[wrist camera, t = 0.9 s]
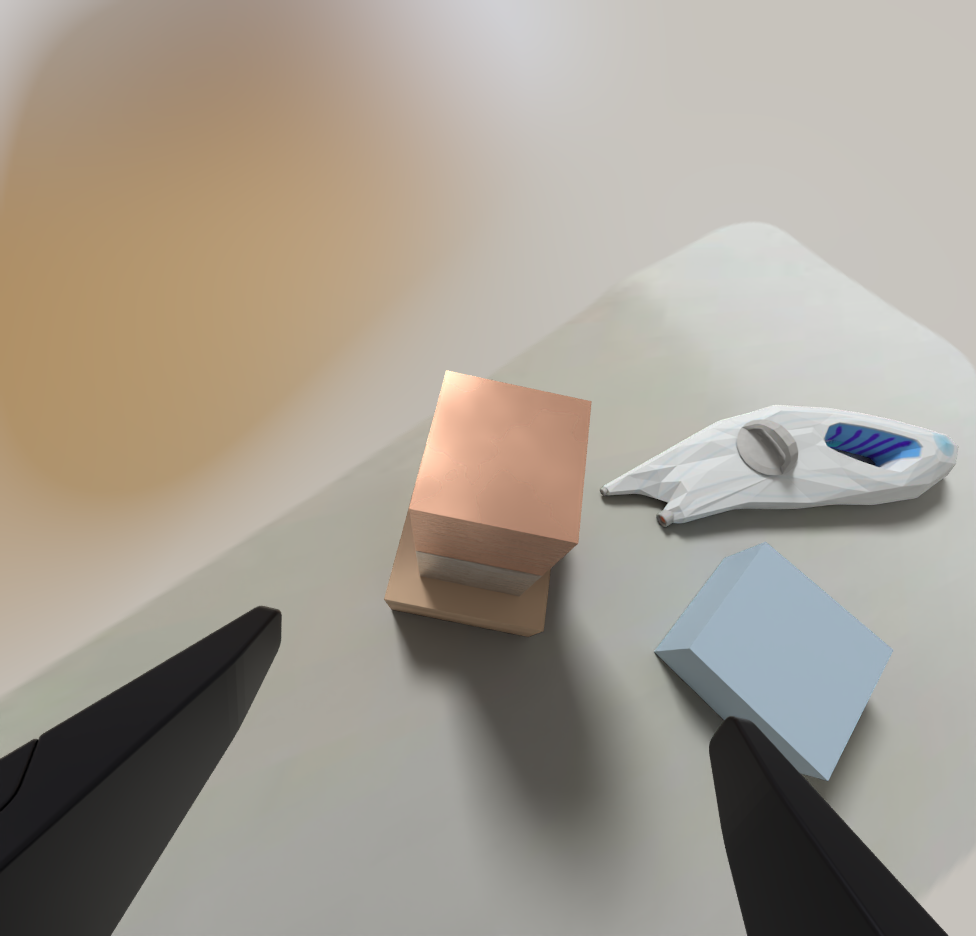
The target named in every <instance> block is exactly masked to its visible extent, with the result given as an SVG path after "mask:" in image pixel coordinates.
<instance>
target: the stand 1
mask: <svg viewBox="0 0 976 936" xmlns="http://www.w3.org/2000/svg"><path fill="white" fill-rule="evenodd" d="M422 459H423V457H422ZM421 462H422V461H421ZM420 466H421V465H420ZM419 470H420V468H419ZM418 473H419V472H418ZM417 477H418V476H417ZM416 481H417V479H416ZM415 484H416V483H415ZM414 488H415V487H414ZM413 492H414V491H413ZM412 496H413V494H412ZM411 499H412V498H411ZM410 503H411V502H410ZM409 507H410V505H409ZM550 572H551V568H550V569H549V570H548V571H547V572H546V573H545V574H544V575H543V576H541V577H540V578H539V579H538V580H537V581H536V582H535V583H534V584H533V585H531V586H530V587H529V588H528V589H527V590H526V591H525V592H524V593H523V594H521V595H520V596H516V595H511V594H506V593H501V592H496V591H491V590H486V589H481V588H476V587H471V586H466V585H462V584H457V583H452V582H447V581H442V580H437V579H432V578H427V577H422V576H420V574H419V568H418V562H417V556H416V549H415V543H414V537H413V531H412V524H411V518H410V512H409V509H408V513H407V516H406V520H405V524H404V527H403V531H402V535H401V539H400V542H399V546H398V550H397V553H396V557H395V561H394V564H393V568H392V572H391V576H390V579H389V583H388V587H387V590H386V594H385V598H384V600H385V601H386V603H387V604H388V605H389V607H390V608H391V610H396V611H401V612H406V613H411V614H416V615H421V616H426V617H431V618H436V619H441V620H446V621H451V622H456V623H461V624H466V625H471V626H476V627H481V628H486V629H491V630H496V631H501V632H506V633H511V634H516V635H521V636H526V637H529V636H532V635H535V634H537V633H540V632H543V631H544V623H545V615H546V606H547V598H548V589H549V581H550Z"/></svg>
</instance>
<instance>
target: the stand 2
mask: <svg viewBox="0 0 976 936" xmlns="http://www.w3.org/2000/svg"><path fill="white" fill-rule="evenodd" d="M654 652H655V653H656V654H657V655H658V656H659V657H660V658H661V659H662V660H663V661H664V662H665V663H666V664H667V665H668V666H669V667H670V668H671V669H672V670H673V671H674V672H675V673H676V674H677V675H679V676H680V677H681V678H682V679H683V680H684V681H685V682H686V683H687V684H688V685H689V686H690V687H691V688H692V689H693V690H694V691H695V692H696V693H697V694H698V695H699V696H700V697H701V698H702V699H703V700H704V701H705V702H706V703H707V704H708V705H709V706H710V707H711V708H712V709H713V710H714V711H715V712H716V713H717V714H718V715H719V716H720V717H721V718H722V719H723V720H725V719H726V718H727V717H729V716H736V717H740V718H744V719H748V720H750V721H752V722H753V723H754V724H755V725H756V726H757V727H758V728H759V729H760V730H761V731H762V732H763V733H764V734H765V735H766V736H767V738H768V739H769V740H770V741H771V742H772V743H773V744H774V745H775V746H776V747H777V749H778V750H779V751H780V752H781V753H782V754H783V755H784V756H785V757H786V758H787V759H788V761H789V762H790V763H791V764H792V765H793V766H794V767H795V768H796V769H797V770H798V772H799V773H801V774H805V775H808V776H812V777H816V778H819V779H823V780H826V781H828V780H829V778H830V776H831V774H832V772H833V770H834V768H835V766H836V764H837V762H838V760H839V758H840V756H841V754H842V752H843V750H844V748H845V746H846V744H847V742H848V740H849V738H850V736H851V734H852V732H853V730H854V728H855V726H856V724H857V722H858V720H859V718H860V716H861V714H862V712H863V710H864V708H865V706H866V704H867V702H868V700H869V698H870V696H871V694H872V692H873V690H874V688H875V686H876V684H877V682H878V680H879V678H880V676H881V674H882V672H883V670H884V668H885V666H886V664H887V662H888V660H889V658H890V656H891V654H892V652H893V649H892V648H890V647H889V646H888V645H887V644H886V643H885V642H883V641H882V640H881V639H880V638H879V637H878V636H876V635H875V634H874V633H873V632H872V631H870V630H869V629H868V628H867V627H866V626H865V625H863V624H862V623H861V622H860V621H859V620H857V619H856V618H855V617H854V616H853V615H852V614H850V613H849V612H848V611H847V610H846V609H845V608H843V607H842V606H841V605H840V604H839V603H837V602H836V601H835V600H834V599H833V598H832V597H830V596H829V595H828V594H827V593H826V592H824V591H823V590H822V589H821V588H820V587H819V586H817V585H816V584H815V583H814V582H813V581H812V580H810V579H809V578H808V577H807V576H806V575H804V574H803V573H802V572H801V571H800V570H799V569H797V568H796V567H795V566H794V565H793V564H791V563H790V562H789V561H788V560H787V559H786V558H784V557H783V556H782V555H781V554H780V553H779V552H777V551H776V550H775V549H774V548H773V547H771V546H770V545H769V544H768V543H767V542H764V543H761V544H759V545H756V546H754V547H751V548H749V549H746V550H743V551H741V552H738V553H736V554H733V555H731V556H728V557H726V558H724V559H723V561H722V562H721V563H720V565H719V566H718V567H717V569H716V570H715V571H714V573H713V574H712V575H711V577H710V578H709V579H708V581H707V582H706V583H705V585H704V586H703V587H702V589H701V590H700V591H699V593H698V594H697V595H696V597H695V598H694V599H693V601H692V602H691V603H690V605H689V606H688V607H687V609H686V610H685V611H684V612H683V614H682V615H681V616H680V618H679V619H678V620H677V622H676V623H675V624H674V626H673V627H672V628H671V630H670V631H669V632H668V634H667V635H666V636H665V638H664V639H663V640H662V642H661V643H660V644H659V646H658V647H657V648H656V650H655V651H654Z"/></svg>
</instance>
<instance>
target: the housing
mask: <svg viewBox="0 0 976 936" xmlns="http://www.w3.org/2000/svg"><path fill="white" fill-rule="evenodd" d="M590 412H591V401H587V400H582V399H578V398H573V397H568V396H564V395H559V394H554V393H550V392H545V391H540V390H535V389H531V388H526V387H521V386H517V385H512V384H507V383H503V382H498V381H493V380H489V379H484V378H479V377H474V376H470V375H465V374H460V373H456V372H451V371H446V374H445V377H444V381H443V385H442V388H441V392H440V396H439V400H438V403H437V407H436V410H435V414H434V418H433V422H432V425H431V429H430V433H429V436H428V440H427V444H426V447H425V451H424V455H423V459H422V462H421V466H420V470H419V473H418V477H417V481H416V484H415V488H414V492H413V496H412V499H411V503H410V507H409V512H410V518H411V524H412V531H413V537H414V543H415V549H416V556H417V562H418V568H419V574H420V576H422V577H427V578H432V579H437V580H442V581H447V582H452V583H457V584H462V585H466V586H471V587H476V588H481V589H486V590H491V591H496V592H501V593H506V594H511V595H516V596H520V595H521V594H523V593H524V592H525V591H526V590H527V589H528V588H529V587H530V586H531V585H533V584H534V583H535V582H536V581H537V580H538V579H539V578H540V577H541V576H543V575H544V574H545V573H546V572H547V571H548V570H549V569H550V568H551V567H553V566H554V565H555V564H556V563H557V562H558V561H559V560H560V559H561V558H563V557H564V556H565V555H566V554H567V553H568V552H569V551H570V550H571V549H573V548H574V547H575V546H576V545H577V544H578V540H579V529H580V519H581V508H582V497H583V486H584V476H585V465H586V454H587V444H588V433H589V422H590Z"/></svg>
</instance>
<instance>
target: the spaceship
mask: <svg viewBox="0 0 976 936" xmlns="http://www.w3.org/2000/svg"><path fill="white" fill-rule="evenodd" d="M834 449H837V450H842V451H845V452H849V453H853V454H858V455H862V456H865V457H868V458H871V460H872V461H873V462H874V463H875V466H874V465H871V464H868V463H865V462H862V461H859V460H856V459H854V458H852V457H849V456H847V455H844V454H842V453H839V452H837V451H835V450H834ZM957 452H958V445H957V444H956V443H955V442H954V441H953V440H952V439H951V438H950V437H949V436H948V435H946V434H942V433H939V432H936V431H932V430H929V429H926V428H922V427H919V426H915V425H911V424H907V423H904V422H900V421H896V420H892V419H888V418H883V417H878V416H874V415H869V414H865V413H858V412H851V411H845V410H838V409H832V408H820V407H804V406H787V405H772V406H769V407H766V408H763V409H760V410H757V411H754V412H750V413H746V414H742V415H738V416H735V417H731V418H727V419H723V420H719V421H717V422H715V423H714V424H712V425H710V426H708V427H706V428H704V429H703V430H701V431H699V432H697V433H695V434H694V435H692V436H690V437H688V438H687V439H685V440H683V441H681V442H680V443H678V444H676V445H674V446H673V447H671V448H669V449H667V450H666V451H664V452H662V453H660V454H659V455H657V456H655V457H653V458H652V459H650V460H648V461H646V462H645V463H643V464H641V465H639V466H638V467H636V468H634V469H632V470H631V471H629V472H627V473H625V474H624V475H622V476H620V477H618V478H617V479H615V480H613V481H611V482H610V483H608V484H606V485H604V486H603V488H601V489H600V492H601V494H602V495H603V496H605V495H620V494H642V495H646V496H649V497H652V498H656V499H659V500H662V501H665V502H668V504H667V505H666V507H665V508H664V510H663V511H661V512H660V513H658V514H657V515H656V517H657V520H658V522H659V523H660V524H661V525H662V526H664V527H666V526H668V525H670V524H671V523H685V522H689V521H692V520H696V519H699V518H703V517H707V516H711V515H714V514H718V513H722V512H725V511H729V510H733V509H799V508H808V507H817V506H826V505H835V504H847V505H876V504H882V503H889V502H895V501H901V500H908V499H914V498H917V497H919V496H920V495H921V494H923V493H924V492H925V491H927V490H928V489H930V488H931V487H932V486H934V485H935V484H936V483H938V482H939V481H940V480H942V479H943V478H944V477H946V476H947V475H948V474H949V472H950V471H951V470H952V468H953V467H954V466H955V464H956V459H957Z"/></svg>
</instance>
